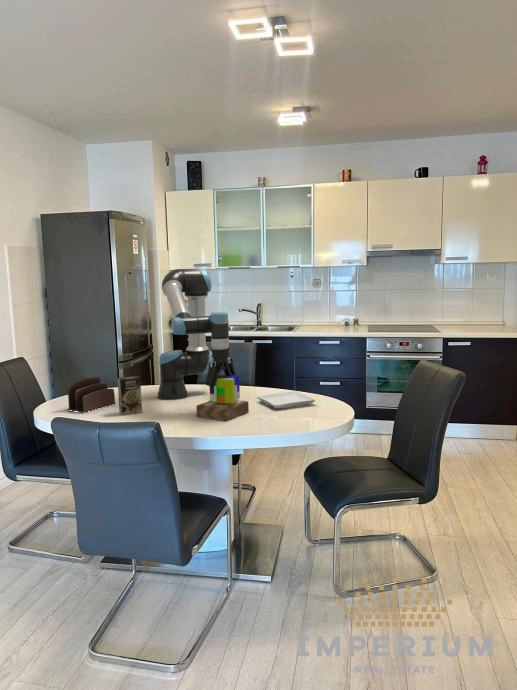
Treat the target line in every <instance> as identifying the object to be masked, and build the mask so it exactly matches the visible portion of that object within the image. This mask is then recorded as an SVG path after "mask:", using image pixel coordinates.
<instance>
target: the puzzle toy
mask: <svg viewBox="0 0 517 690" xmlns="http://www.w3.org/2000/svg"><path fill="white" fill-rule="evenodd" d="M215 386H216V394H217V401H216V402H215V401H211V398H210V397H209V399H210V400H209V401H210V403H234V402H235V401H237V400H240V399H241V394H240V393H241V391H240V390H241V388H240V375H236V376H234V375H232V376H228V375H226V374H225V375H222V374H221V375H220V374H219V375H218V378H217V381H216V383H215Z"/></svg>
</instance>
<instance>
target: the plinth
mask: <svg viewBox="0 0 517 690" xmlns="http://www.w3.org/2000/svg"><path fill="white" fill-rule="evenodd" d="M248 412H249V413H250V410H249V401H246V400H240V399H238V400H237V401H235V402H234V403H210V400H208V401H206V402H202V403H200V404H197V405H196V418H203V419H210V420H216V421H222V422H223V421H225V422H228V420H229V421H231V420H233V418H234V419H236V418H239V417H241V416H244V415H246V413H247V414H249V413H248ZM243 414H244V415H243ZM238 416H239V417H238Z"/></svg>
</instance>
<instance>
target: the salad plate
mask: <svg viewBox="0 0 517 690" xmlns="http://www.w3.org/2000/svg"><path fill="white" fill-rule="evenodd" d="M256 398H257V399H258V400H259V401H260V402H261V403H264V404H266V405H268V406H270V407H272V408H274V409H277V410H278V409H279V410H281V409H282V410H283V409H290V408H296V407H297V406H298V407H304V406H308V405H311V404H313V403H314V402H316V399H315V398H314V397H311V396H308V395H307V394H303V393H301V392H298V391H296V390H293V391H284V392H276V393H271V394H264V395H256ZM298 407H297V408H298Z"/></svg>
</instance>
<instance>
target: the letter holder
mask: <svg viewBox="0 0 517 690" xmlns="http://www.w3.org/2000/svg"><path fill="white" fill-rule="evenodd" d="M67 397H68V400H67V401H68V411H69V410H72V411H78V412H87V413H89V412H88V411H91V412H93V411H92V410H94V411H96V410H95V409H97V410H99V409H98V408H101V409H103V408H102V407H104V408H106V407H105V406H107V407H110V406H109V405H111V406H113V405H112V404H114V405H116V398H115V389H114V388H108V384H107V383H105V382H102V383H101V377H100V376H90V377H85V378H81V379H77V380H74V381H71V382H70V383H69V384H68V385H67Z"/></svg>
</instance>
